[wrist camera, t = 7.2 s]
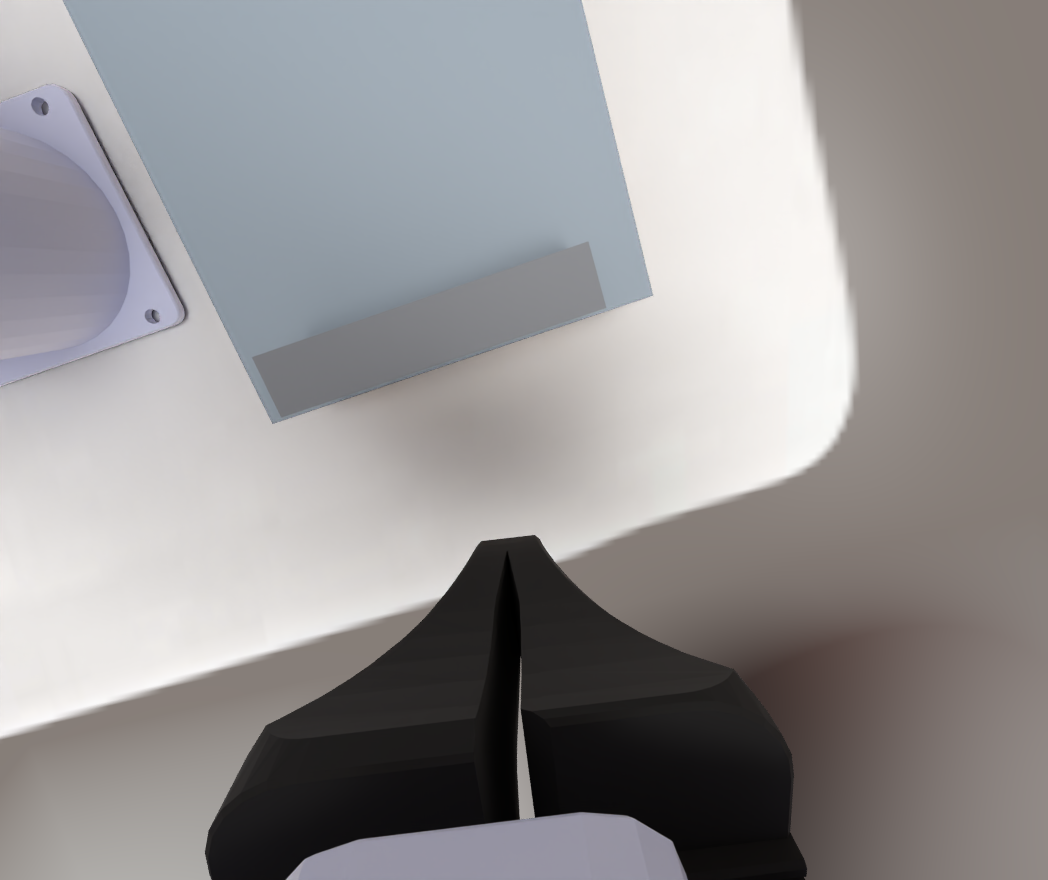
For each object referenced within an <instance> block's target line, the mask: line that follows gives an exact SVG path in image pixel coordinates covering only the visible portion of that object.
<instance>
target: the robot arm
mask: <svg viewBox="0 0 1048 880" xmlns="http://www.w3.org/2000/svg"><path fill="white" fill-rule="evenodd" d="M45 101H46V102H47V104H48V107H49V110H48V113H47V114H46V115H44V114H43V112H42V109H41V107H42V104H43V103H44V102H45ZM153 310H156V311H157V312H158V313H159V316H160V320H159V322H156V321H155V320H154V319H153V318H152V315H151V314H152V311H153ZM184 314H185V312H184V309H183V306H182V304H181V302H180V300H179V298H178V296H177V294H176V292H175V290H174V289H173V287H172V285H171V283H170V281H169V279H168V277H167V275H166V273H165V271H164V269H163V267H162V265H161V263H160V261H159V259H158V257H157V255H156V253H155V252H154V250H153V248H152V246H151V244H150V242H149V240H148V238H147V236H146V234H145V232H144V230H143V228H142V226H141V224H140V222H139V220H138V218H137V217H136V215H135V213H134V211H133V209H132V207H131V205H130V203H129V201H128V199H127V197H126V195H125V193H124V191H123V189H122V187H121V185H120V183H119V182H118V180H117V178H116V176H115V174H114V172H113V170H112V168H111V166H110V164H109V162H108V160H107V158H106V156H105V154H104V152H103V150H102V148H101V147H100V145H99V143H98V141H97V139H96V137H95V135H94V133H93V131H92V129H91V127H90V125H89V123H88V121H87V119H86V117H85V115H84V113H83V111H82V110H81V108H80V106H79V104H78V102H77V100H76V98H75V97H74V96H73V94H72V93H71V92H69V91H68V90H67V89H65V88H63V87H60V86H58V85H54V84H47V85H44V86H41V87H39V88H36V89H34V90H31V91H28V92H26V93H23V94H20V95H18V96H15V97H12V98H10V99H7V100H5V101H2V102H0V387H1V386H3V385H6V384H9V383H12V382H15V381H18V380H20V379H23V378H26V377H29V376H32V375H35V374H38V373H40V372H43V371H46V370H49V369H52V368H55V367H58V366H60V365H63V364H66V363H69V362H72V361H75V360H78V359H80V358H83V357H86V356H89V355H92V354H95V353H97V352H100V351H103V350H106V349H109V348H112V347H115V346H117V345H120V344H123V343H126V342H129V341H132V340H135V339H137V338H140V337H143V336H146V335H149V334H152V333H155V332H157V331H160V330H163V329H166V328H169V327H172V326H174V325H177V324H179V323H181V322H182V320H183V319H184ZM520 657H521V659H522V660H521V661H522V662H521V663H522V681H521V682H522V683H521V715H522V722H523V729H524V737H525V745H526V753H527V760H528V768H529V775H530V783H531V790H532V798H533V806H534V812H535V818H529V819H521V820H520V817H519V798H518V780H517V734H518V731H517V730H518V708H519V685H520V683H519V682H520ZM793 778H794V773H793V763H792V754H791V752H790V750H789V748H788V746H787V744H786V742H785V740H784V738H783V736H782V734H781V732H780V731H779V729H778V727H777V726H776V724H775V723H774V721H773V719H772V718H771V716H770V715H769V713H768V712H767V710H766V709H765V708H764V706H763V705H762V704H761V702H760V701H759V700H758V699H757V697H756V696H755V695H754V693H753V692H752V691H751V690H750V689H749V687H748V686H747V685H746V684H745V682H744V681H743V680H742V679H741V678H740V676H739V675H738V674H737V673H736V671H735V670H734V669H731V668H728V667H725V666H722V665H719V664H716V663H713V662H710V661H707V660H704V659H701V658H698V657H695V656H692V655H689V654H686V653H683V652H681V651H679V650H676V649H674V648H672V647H670V646H667V645H665V644H663V643H660V642H658V641H656V640H654V639H652V638H650V637H648V636H646V635H644V634H642V633H640V632H638V631H637V630H635V629H633V628H631V627H630V626H628V625H626V624H625V623H623V622H621V621H620V620H618V619H616V618H615V617H613V616H612V615H610V614H609V613H608V612H606V611H605V610H604V609H602V608H601V607H600V606H598V605H597V604H596V603H595V602H594V601H592V600H591V599H590V598H589V597H588V596H587V595H586V594H584V593H583V592H582V591H581V590H580V589H579V588H578V587H577V586H576V585H575V584H574V583H573V582H572V581H571V580H570V579H569V578H568V577H567V575H566V574H565V573H564V572H563V571H562V570H561V569H560V568H559V566H558V565H557V564H556V563H555V562H554V560H553V559H552V558H551V556H550V555H549V554H548V552H547V551H546V549H545V548H544V546H543V545H542V543H541V541H540V539H539V538H538V537H536V536H535V535H531V536H523V537H514V538H505V539H497V540H488V541H481V542H480V543H479V544H478V546H477V547H476V549H475V550H474V552H473V554H472V556H471V557H470V559H469V560H468V562H467V564H466V565H465V567H464V568H463V570H462V571H461V573H460V574H459V575H458V577H457V578H456V580H455V581H454V582H453V584H452V585H451V587H450V588H449V589H448V591H447V592H446V593H445V595H444V596H443V597H442V598H441V599H440V601H439V602H438V603H437V604H436V605H435V607H434V608H433V609H432V610H431V612H430V613H429V614H428V615H427V616H426V617H425V618H424V619H423V620H422V621H421V622H420V623H419V624H418V625H417V626H416V627H415V628H414V629H413V630H412V631H411V632H410V633H409V634H408V635H407V636H406V637H404V638H403V639H402V640H401V641H400V642H399V643H397V644H396V645H395V646H394V647H392V648H391V649H390V650H388V651H387V652H386V653H385V654H384V655H382V656H381V657H380V658H378V659H377V660H376V661H375V662H374V663H372V664H371V665H369V666H368V667H367V668H365V669H364V670H362V671H361V672H359V673H358V674H356V675H355V676H354V677H352V678H351V679H349V680H347V681H346V682H344V683H343V684H341V685H339V686H338V687H336V688H335V689H333V690H332V691H330V692H328V693H327V694H325V695H323V696H322V697H320V698H318V699H316V700H314V701H312V702H311V703H309V704H307V705H305V706H303V707H301V708H299V709H297V710H295V711H294V712H292V713H290V714H288V715H286V716H284V717H282V718H280V719H278V720H276V721H274V722H272V723H270V724H268V725H266V726H265V728H264V730H263V732H262V733H261V735H260V736H259V738H258V740H257V741H256V743H255V745H254V746H253V748H252V750H251V751H250V752H249V754H248V756H247V758H246V760H245V762H244V763H243V765H242V767H241V769H240V771H239V773H238V775H237V777H236V779H235V781H234V783H233V785H232V787H231V788H230V791H229V792H228V794H227V797H226V798H225V800H224V802H223V804H222V806H221V808H220V810H219V812H218V814H217V816H216V818H215V820H214V821H213V823H212V825H211V827H210V829H209V832H208V838H207V844H206V850H205V855H206V860H207V865H208V870H209V874H210V876H211V879H212V880H805V879H804V877H806V874H807V867H806V864H805V860H804V858H803V856H802V854H801V853H800V850H799V848H798V846H797V845H796V843H795V841H794V839H793V837H792V835H791V833H790V825H791V809H792V794H793Z"/></svg>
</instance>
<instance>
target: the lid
mask: <svg viewBox="0 0 1048 880" xmlns="http://www.w3.org/2000/svg"><path fill="white" fill-rule="evenodd" d="M63 2H64V4H65V6H66V8H67V10H68V12H69V14H70V16H71V18H72V20H73V22H74V24H75V26H76V28H77V30H78V32H79V34H80V36H81V38H82V40H83V42H84V44H85V46H86V48H87V51H88V53H89V55H90V57H91V59H92V61H93V63H94V65H95V67H96V69H97V71H98V73H99V75H100V77H101V79H102V81H103V83H104V85H105V87H106V89H107V91H108V93H109V95H110V97H111V99H112V101H113V103H114V105H115V107H116V109H117V111H118V113H119V115H120V117H121V119H122V121H123V123H124V125H125V127H126V129H127V131H128V133H129V135H130V137H131V139H132V141H133V143H134V145H135V147H136V149H137V151H138V153H139V155H140V157H141V159H142V161H143V163H144V165H145V167H146V169H147V171H148V174H149V176H150V178H151V180H152V182H153V184H154V186H155V188H156V190H157V192H158V194H159V196H160V198H161V200H162V202H163V204H164V206H165V208H166V210H167V212H168V214H169V216H170V218H171V220H172V222H173V224H174V226H175V228H176V230H177V232H178V234H179V236H180V238H181V240H182V242H183V244H184V246H185V248H186V250H187V252H188V254H189V256H190V258H191V260H192V262H193V264H194V266H195V268H196V270H197V272H198V274H199V276H200V278H201V280H202V282H203V284H204V286H205V288H206V290H207V292H208V295H209V297H210V299H211V301H212V303H213V305H214V307H215V309H216V311H217V313H218V315H219V317H220V319H221V321H222V323H223V325H224V327H225V329H226V331H227V333H228V335H229V337H230V339H231V341H232V343H233V345H234V347H235V349H236V351H237V353H238V355H239V357H240V359H241V361H242V363H243V365H244V367H245V369H246V371H247V373H248V375H249V377H250V379H251V381H252V383H253V385H254V387H255V389H256V391H257V393H258V395H259V397H260V399H261V401H262V403H263V405H264V407H265V409H266V411H267V413H268V416H269V418H270V420H271V422H272V424H274V423H277V422H280V421H283V420H286V419H288V418H291V417H294V416H297V415H300V414H303V413H306V412H309V411H312V410H315V409H318V408H321V407H324V406H327V405H330V404H333V403H336V402H339V401H342V400H345V399H348V398H351V397H354V396H357V395H360V394H363V393H366V392H369V391H371V390H374V389H377V388H380V387H383V386H386V385H389V384H392V383H395V382H398V381H401V380H404V379H407V378H410V377H413V376H416V375H419V374H422V373H425V372H428V371H431V370H434V369H437V368H440V367H443V366H446V365H449V364H452V363H454V362H457V361H460V360H463V359H466V358H469V357H472V356H475V355H478V354H481V353H484V352H487V351H490V350H493V349H496V348H499V347H502V346H505V345H508V344H511V343H514V342H517V341H520V340H523V339H526V338H529V337H532V336H535V335H537V334H540V333H543V332H546V331H549V330H552V329H555V328H558V327H561V326H564V325H567V324H570V323H573V322H576V321H579V320H582V319H585V318H588V317H591V316H594V315H597V314H600V313H603V312H606V311H609V310H612V309H615V308H618V307H620V306H623V305H626V304H629V303H632V302H635V301H638V300H641V299H644V298H647V297H650V296H653V294H652V289H651V285H650V281H649V277H648V273H647V269H646V265H645V261H644V256H643V252H642V248H641V244H640V240H639V236H638V232H637V228H636V223H635V219H634V215H633V211H632V207H631V203H630V199H629V195H628V190H627V186H626V182H625V178H624V174H623V170H622V166H621V162H620V157H619V153H618V149H617V145H616V141H615V137H614V133H613V129H612V124H611V120H610V116H609V112H608V108H607V104H606V100H605V96H604V91H603V87H602V83H601V79H600V75H599V71H598V67H597V63H596V58H595V54H594V50H593V46H592V42H591V38H590V34H589V30H588V25H587V21H586V17H585V13H584V9H583V5H582V1H581V0H63Z"/></svg>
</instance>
